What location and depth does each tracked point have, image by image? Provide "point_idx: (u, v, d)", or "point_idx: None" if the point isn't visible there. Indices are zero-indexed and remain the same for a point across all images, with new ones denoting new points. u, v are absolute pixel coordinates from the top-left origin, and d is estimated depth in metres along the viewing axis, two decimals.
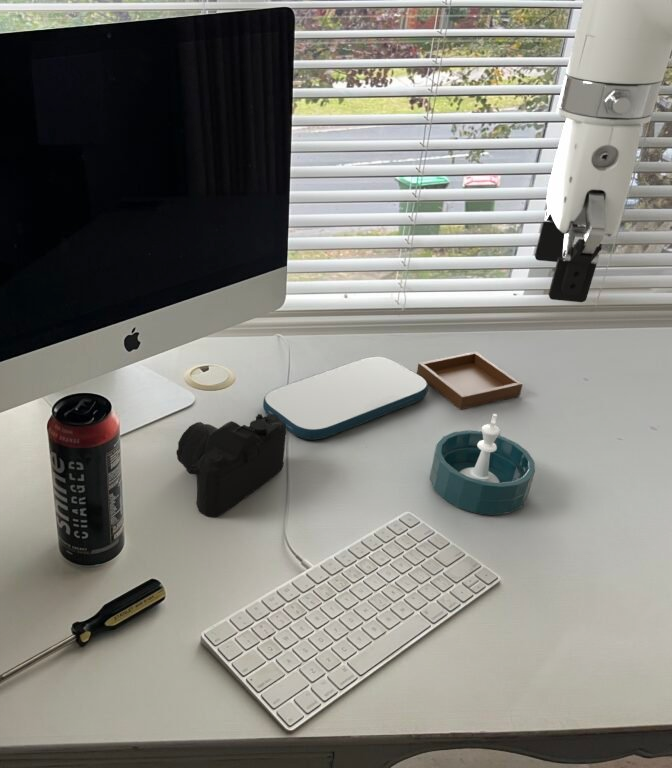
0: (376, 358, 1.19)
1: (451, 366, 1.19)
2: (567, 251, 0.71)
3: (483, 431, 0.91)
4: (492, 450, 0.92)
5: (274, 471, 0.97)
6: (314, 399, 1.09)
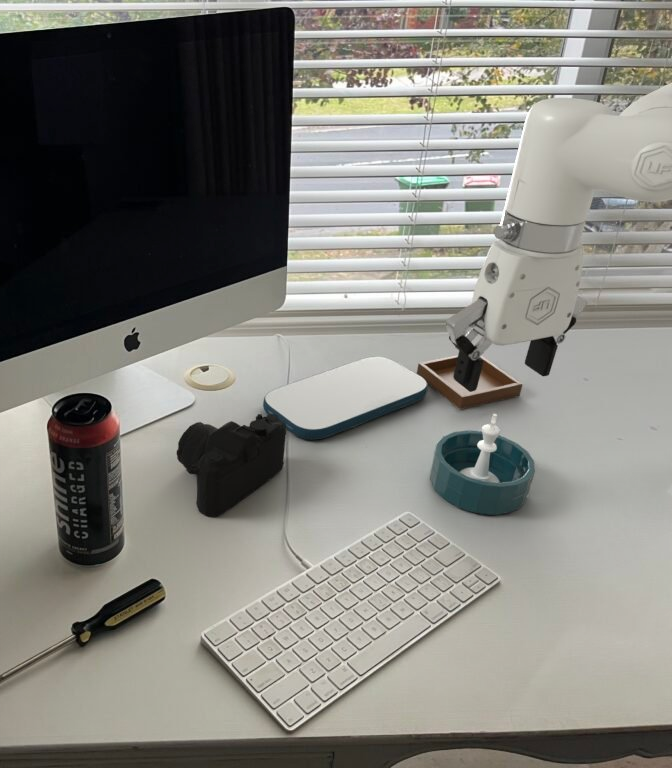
0: (376, 358, 1.19)
1: (451, 366, 1.19)
2: None
3: (483, 431, 0.91)
4: (492, 450, 0.92)
5: (274, 471, 0.97)
6: (314, 399, 1.09)
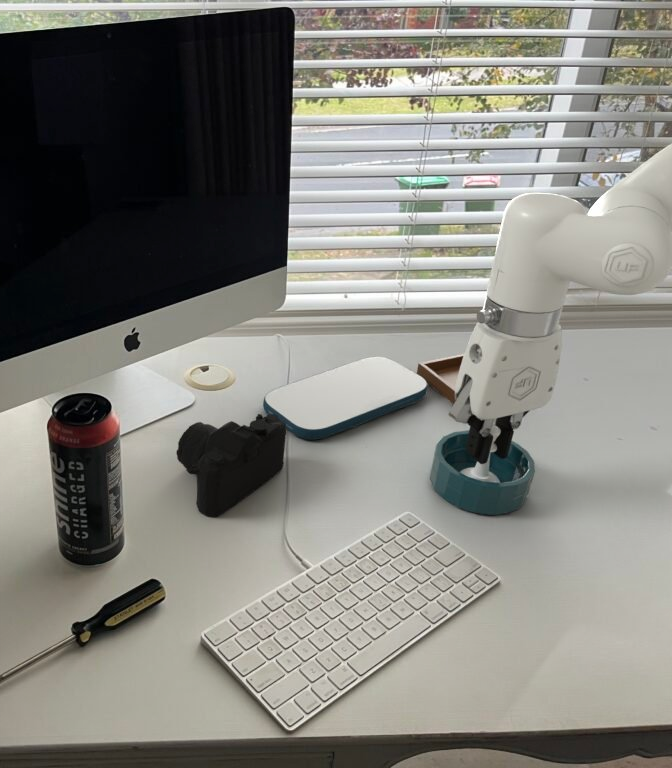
0: (376, 358, 1.19)
1: (451, 366, 1.19)
2: None
3: None
4: (492, 450, 0.92)
5: (274, 471, 0.97)
6: (314, 399, 1.09)
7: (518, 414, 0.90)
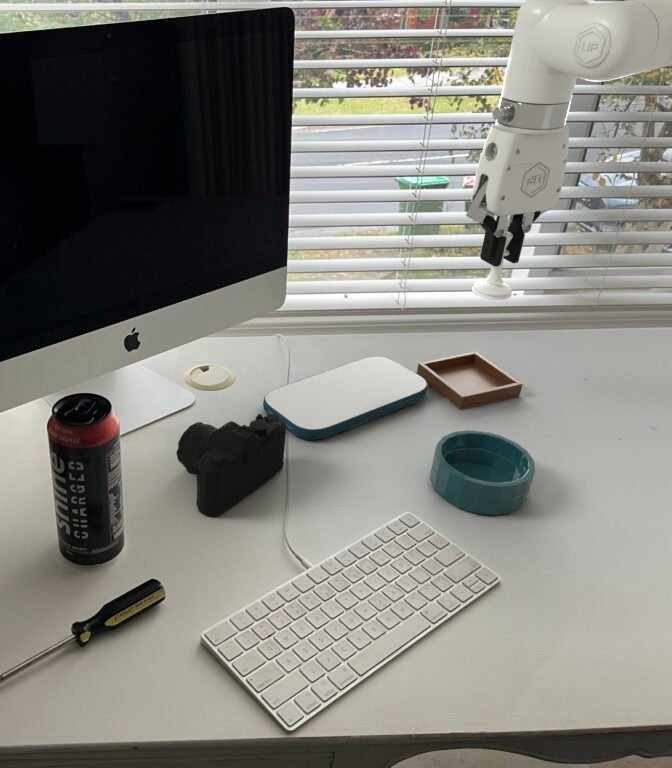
0: (376, 358, 1.19)
1: (451, 366, 1.19)
2: None
3: None
4: (505, 254, 1.01)
5: (274, 471, 0.97)
6: (314, 399, 1.09)
7: (529, 217, 0.99)
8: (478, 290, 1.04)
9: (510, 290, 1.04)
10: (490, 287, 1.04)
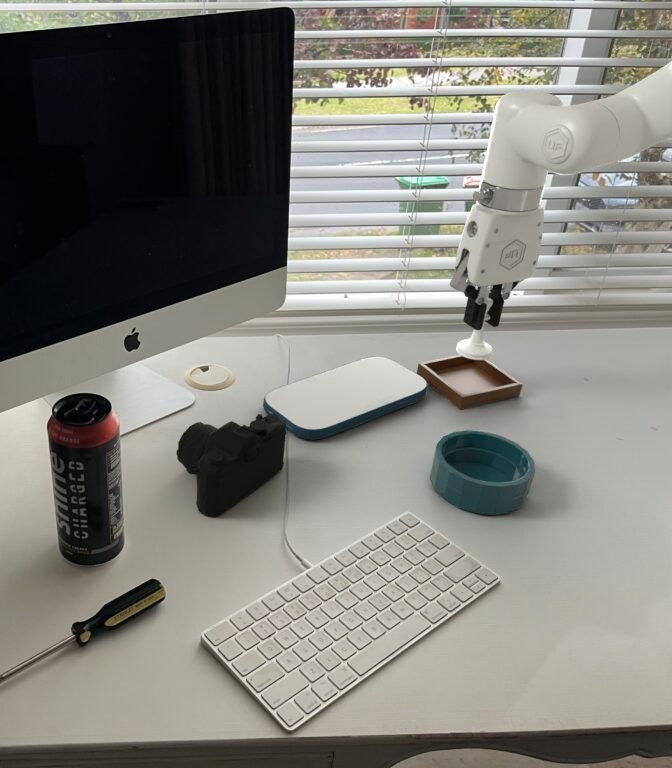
0: (376, 358, 1.19)
1: (451, 366, 1.19)
2: None
3: None
4: (486, 318, 1.09)
5: (274, 471, 0.97)
6: (314, 399, 1.09)
7: (508, 286, 1.07)
8: (461, 350, 1.12)
9: (491, 351, 1.12)
10: (472, 348, 1.12)
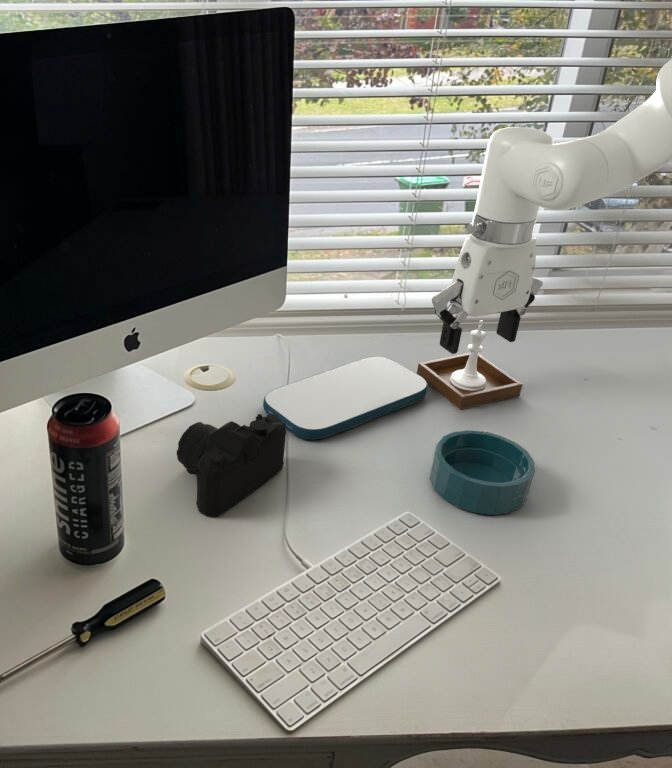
0: (376, 358, 1.19)
1: (451, 366, 1.19)
2: None
3: (472, 335, 1.11)
4: (479, 351, 1.12)
5: (274, 471, 0.97)
6: (314, 399, 1.09)
7: None
8: (455, 381, 1.15)
9: (484, 381, 1.14)
10: (466, 379, 1.14)
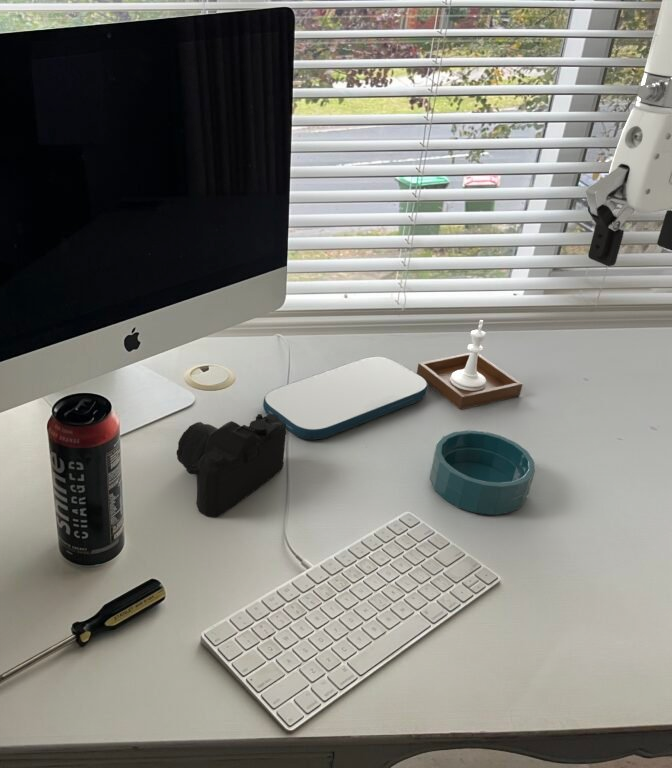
0: (376, 358, 1.19)
1: (451, 366, 1.19)
2: None
3: (472, 335, 1.11)
4: (479, 351, 1.12)
5: (274, 471, 0.97)
6: (314, 399, 1.09)
7: None
8: (455, 381, 1.15)
9: (484, 381, 1.14)
10: (466, 379, 1.14)
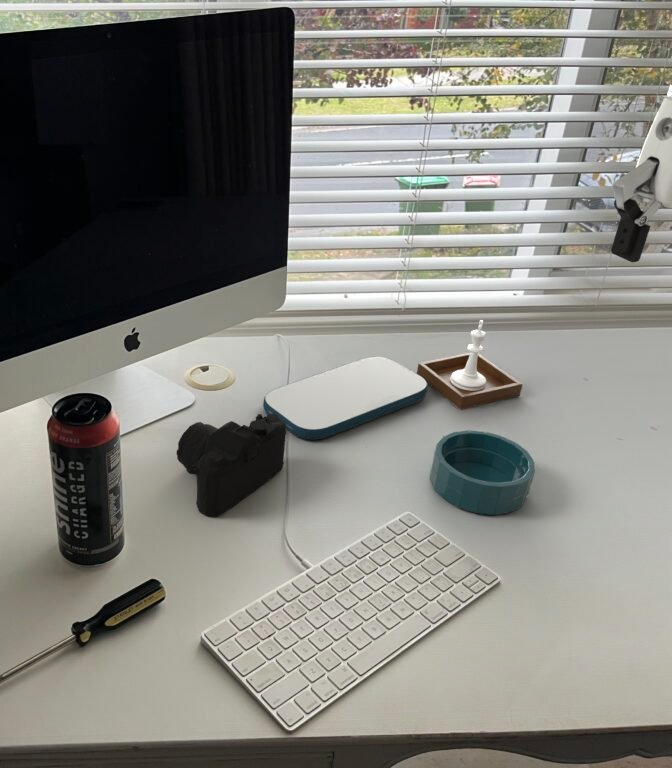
0: (376, 358, 1.19)
1: (451, 366, 1.19)
2: None
3: (472, 335, 1.11)
4: (479, 351, 1.12)
5: (274, 471, 0.97)
6: (314, 399, 1.09)
7: None
8: (455, 381, 1.15)
9: (484, 381, 1.14)
10: (466, 379, 1.14)
